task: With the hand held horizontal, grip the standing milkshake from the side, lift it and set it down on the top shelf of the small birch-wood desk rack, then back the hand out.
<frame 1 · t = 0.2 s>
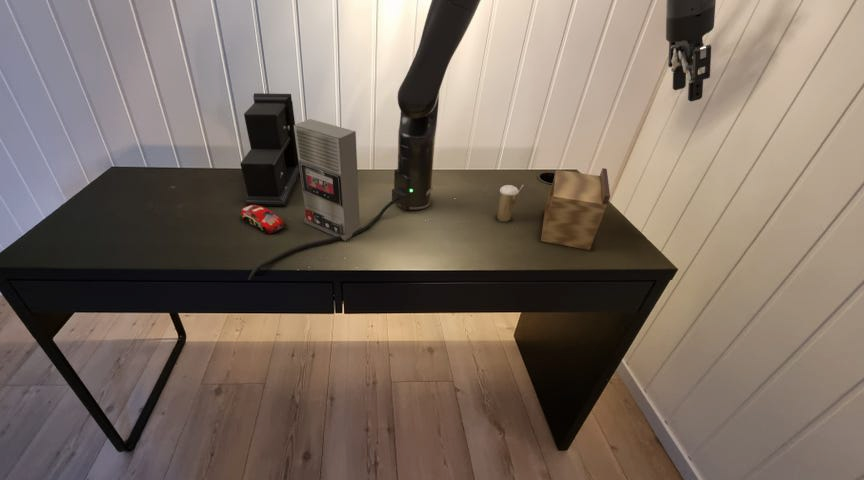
hand: (686, 94, 86), 31 cm above the table, tool tilted 20°, fingers open, 8 cm apart
bookend: (276, 187, 121), on the table
milkshake: (504, 219, 106), on the table
desk rack: (565, 229, 102), on the table
cassette tape recorder: (332, 228, 103), on the table
race car: (263, 224, 105), on the table
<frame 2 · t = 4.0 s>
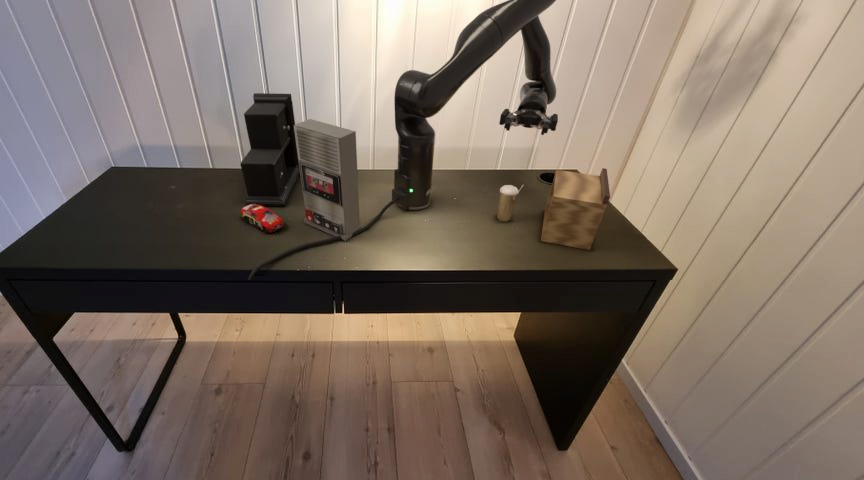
hand: (525, 128, 102), 20 cm above the table, tool horizontal, fingers open, 8 cm apart
nothing on the table moved.
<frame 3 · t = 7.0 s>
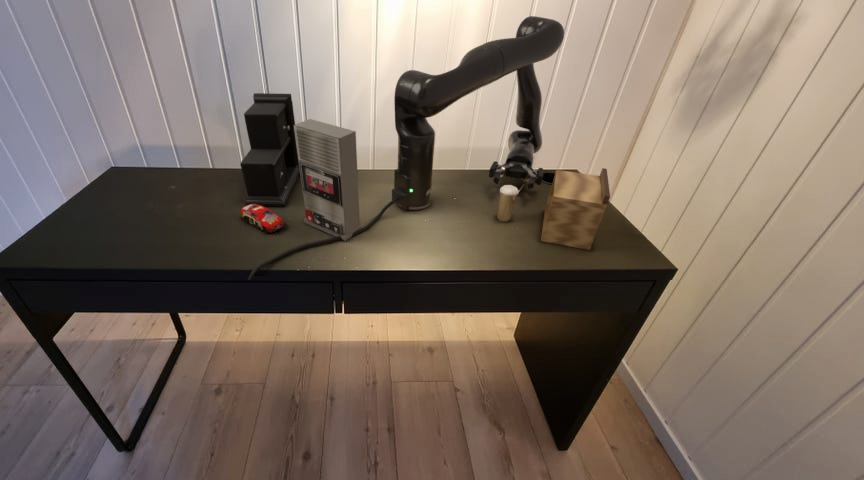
hand: (513, 183, 109), 6 cm above the table, tool horizontal, fingers open, 8 cm apart
nothing on the table moved.
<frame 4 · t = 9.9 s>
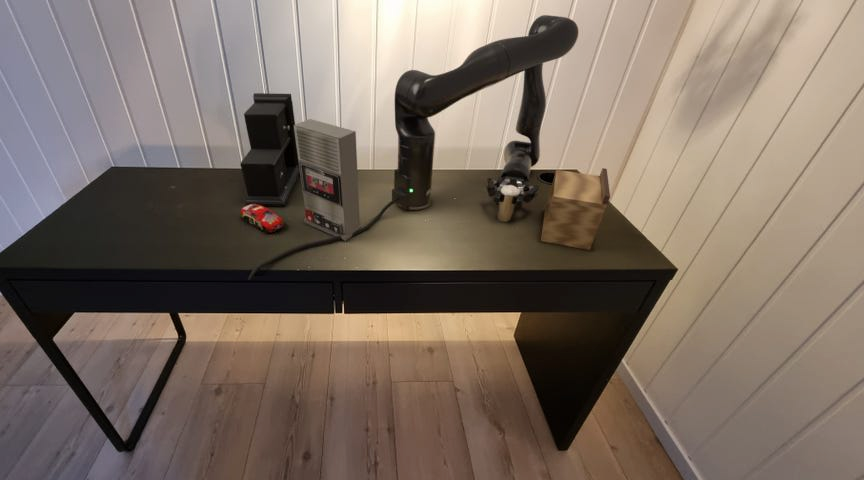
hand: (507, 203, 101), 6 cm above the table, tool horizontal, fingers closed on milkshake, 4 cm apart
milkshake: (505, 219, 106), on the table, touching gripper
everything else where it was.
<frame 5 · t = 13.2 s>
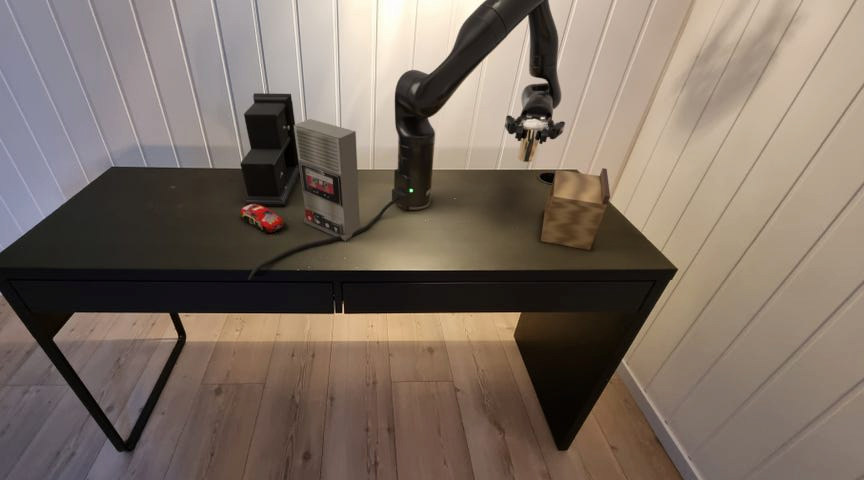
hand: (530, 138, 90), 23 cm above the table, tool horizontal, fingers closed on milkshake, 4 cm apart
milkshake: (527, 160, 96), point 16 cm above the table, touching gripper
everything else where it was.
when the fingers open (18 cm above the table, at t = 16.9 s): milkshake stays where it is, resting on desk rack.
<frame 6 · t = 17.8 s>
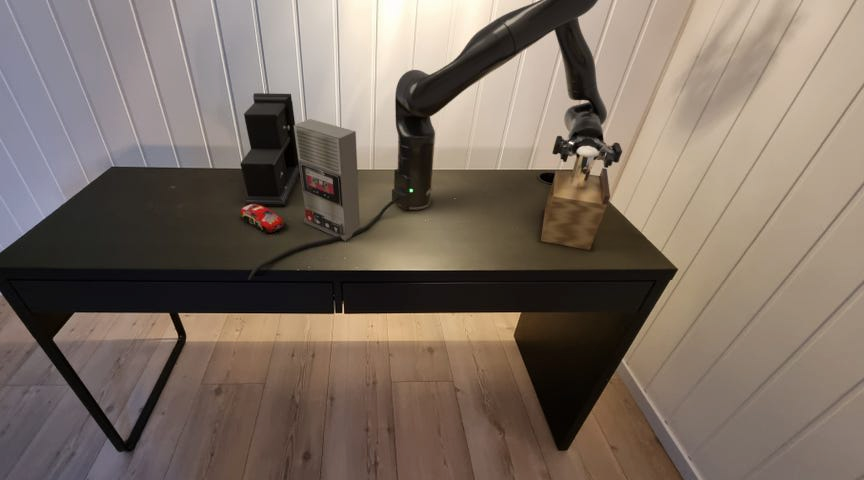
hand: (586, 160, 89), 19 cm above the table, tool horizontal, fingers open, 8 cm apart
milkshake: (578, 186, 95), point 12 cm above the table, touching desk rack
everything else where it was.
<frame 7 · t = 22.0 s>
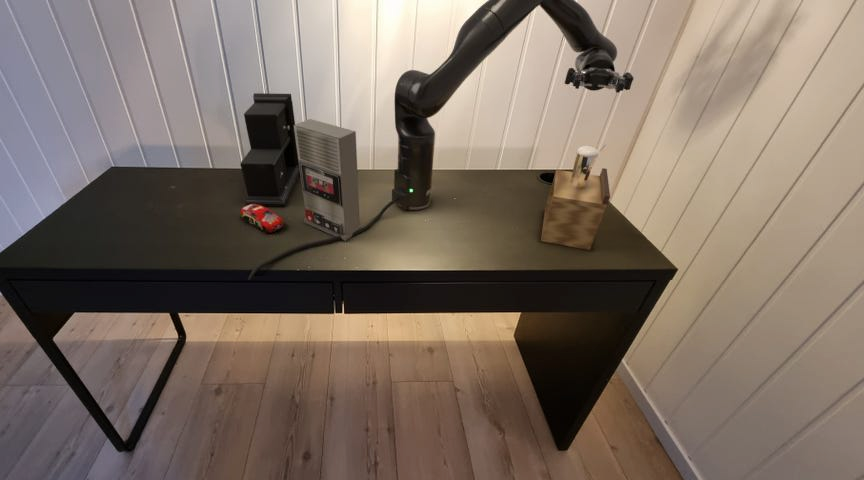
hand: (598, 85, 91), 31 cm above the table, tool horizontal, fingers open, 8 cm apart
nothing on the table moved.
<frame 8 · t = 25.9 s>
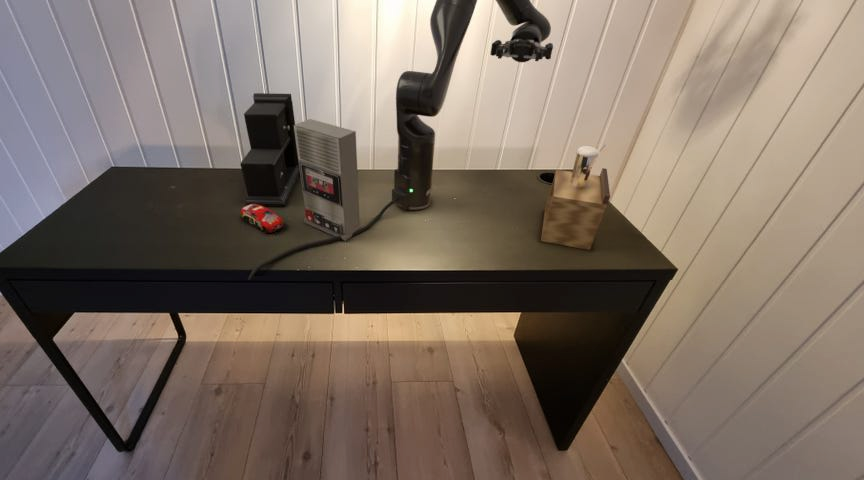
hand: (518, 55, 95), 36 cm above the table, tool horizontal, fingers open, 8 cm apart
nothing on the table moved.
at the end: milkshake inside the target area on the desk rack (0.2 cm from its centre), point 11.8 cm above the desk rack's base; milkshake tilted 0°; the gripper is holding nothing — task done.
